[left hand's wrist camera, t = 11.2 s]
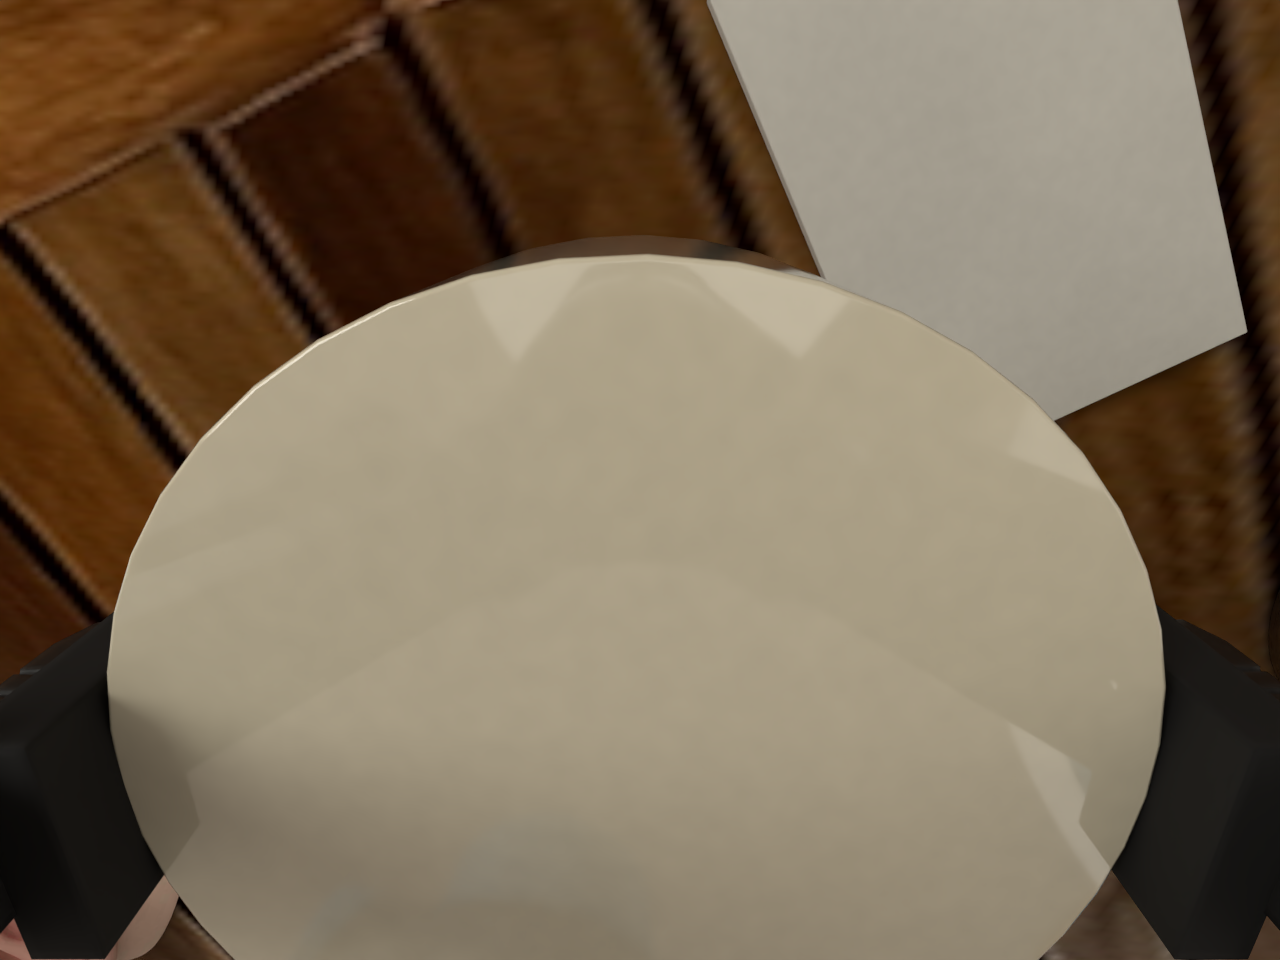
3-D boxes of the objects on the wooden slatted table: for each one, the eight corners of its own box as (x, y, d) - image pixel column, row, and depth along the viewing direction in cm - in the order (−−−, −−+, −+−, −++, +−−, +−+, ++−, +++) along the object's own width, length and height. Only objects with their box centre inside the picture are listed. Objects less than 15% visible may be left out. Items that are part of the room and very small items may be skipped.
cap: (1097, 730, 12) (1272, 933, 9) (524, 959, 14) (489, 1196, 10) (822, 53, 8) (941, -41, 5) (108, 485, 10) (-142, 619, 7)
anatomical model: (-60, 793, 32) (188, 899, 35) (12, 731, 36) (231, 831, 38) (-138, 963, 36) (89, 1047, 38) (-67, 891, 40) (137, 972, 42)
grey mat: (1232, 328, 29) (1248, 332, 29) (905, 479, 32) (911, 486, 31) (1108, -241, 23) (1125, -256, 22) (705, 1, 25) (708, -5, 24)
